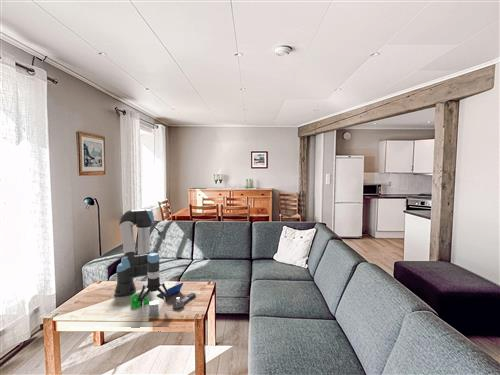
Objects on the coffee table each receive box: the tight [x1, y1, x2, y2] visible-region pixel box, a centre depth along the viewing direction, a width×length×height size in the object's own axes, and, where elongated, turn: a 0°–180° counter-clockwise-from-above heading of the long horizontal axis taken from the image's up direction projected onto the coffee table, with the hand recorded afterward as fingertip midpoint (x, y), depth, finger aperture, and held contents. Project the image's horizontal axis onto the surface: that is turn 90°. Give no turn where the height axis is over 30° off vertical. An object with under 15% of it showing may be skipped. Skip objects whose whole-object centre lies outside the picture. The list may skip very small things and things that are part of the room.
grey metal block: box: [148, 299, 160, 317], centre depth 182 cm, size 6×6×7 cm
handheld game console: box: [156, 282, 184, 300], centre depth 209 cm, size 16×13×9 cm
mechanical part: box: [130, 293, 150, 309], centre depth 195 cm, size 12×6×8 cm, turn 143°
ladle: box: [171, 292, 197, 311], centre depth 197 cm, size 8×22×6 cm, turn 156°
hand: (154, 308), depth 182 cm, fingers open, 13 cm apart
